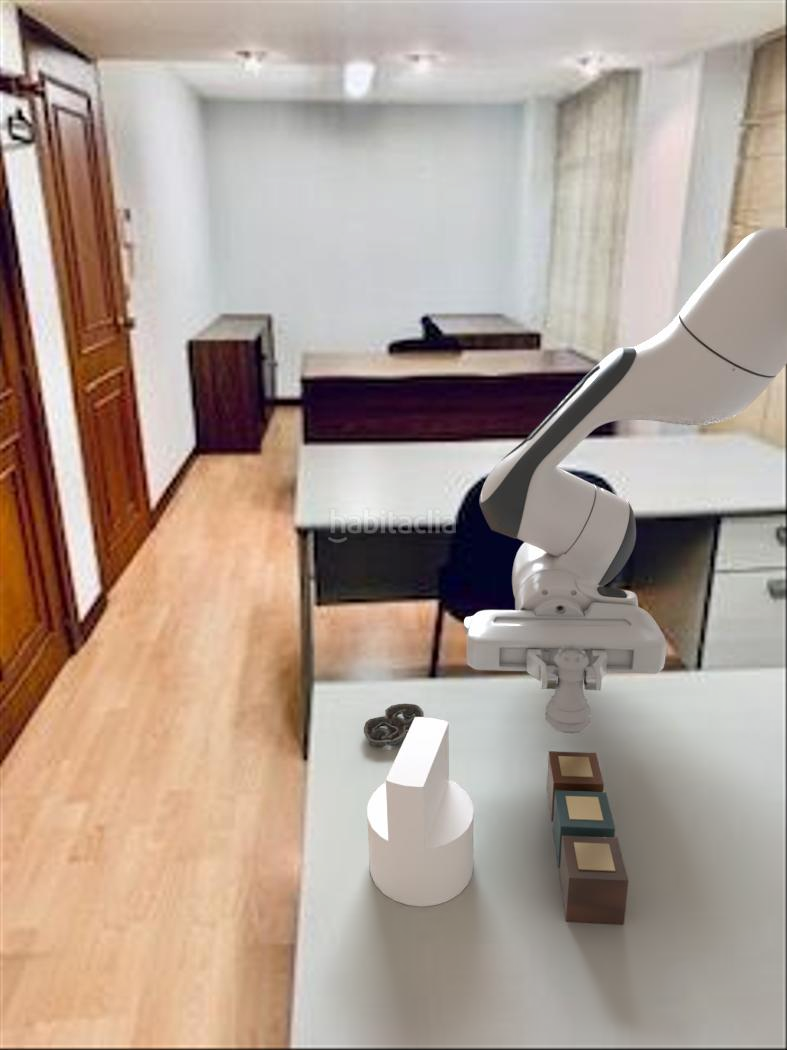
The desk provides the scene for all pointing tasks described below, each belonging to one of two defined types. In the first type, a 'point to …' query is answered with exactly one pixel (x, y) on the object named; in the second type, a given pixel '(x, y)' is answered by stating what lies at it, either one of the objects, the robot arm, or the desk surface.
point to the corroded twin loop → (392, 724)
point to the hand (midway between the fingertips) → (571, 683)
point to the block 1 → (572, 774)
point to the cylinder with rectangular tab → (421, 822)
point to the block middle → (581, 816)
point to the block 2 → (593, 880)
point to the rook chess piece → (569, 693)
